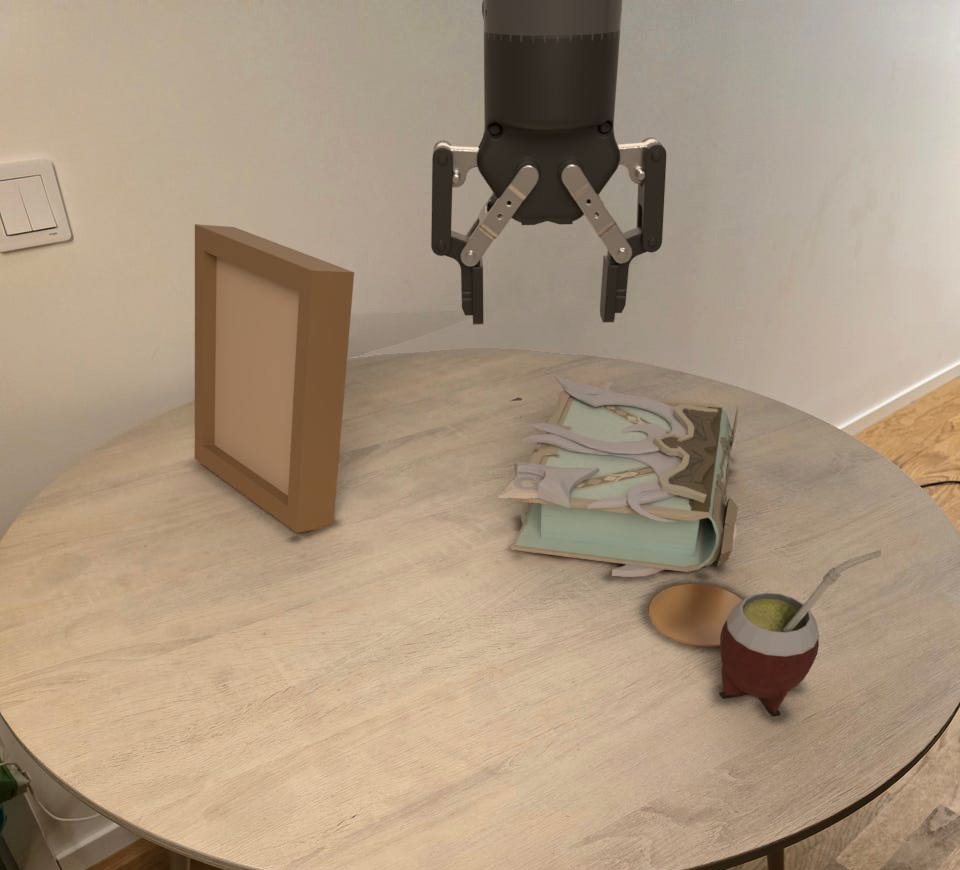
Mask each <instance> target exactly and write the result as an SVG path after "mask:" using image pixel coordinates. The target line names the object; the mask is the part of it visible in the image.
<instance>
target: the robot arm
mask: <svg viewBox="0 0 960 870" xmlns="http://www.w3.org/2000/svg"><path fill="white" fill-rule="evenodd" d="M622 11H623V0H482V3H481V14H482V19H483V102H484V103H483V104H484V105H483V108H484V110H483V111H484V113H483V114H484V118H483V119H484V125H483V127H484V131H483V134H482V138H481V140H480V143H479V145H478V146H463V145H462V146H461V145H452V144H451V143H450V142H449V141H448V140H444V139H441V140H439V141H436V143H435V144H434V146H433V150H432V161H431V162H432V163H431V164H432V165H431V167H432V168H431V229H430V230H431V231H430V232H431V233H430V235H431V237H430V238H431V239H430V246H431V251H432V252H433V254H435V255H436V256H439V257H443V256H444V257H448V258H451V259H452V260H455V261H456V262H457V263H458V265H459V267H460V279H461V280H460V286H461V287H460V288H461V309H462V312H463V314H464V316H465V317H466V316H468V317H469V316H472V325H474V326H475V325H484V263H483V256H484V254H485V253H486V252H487V251H488V249H489V248H490V246H491V244H492V243H493V242H494V240H496V239H497V238H498V237H499V236H500V234H501V233H502V232H503V230H504V229H505V228H506V226H507V225H508V223H509V222H510V220H511V219H512V220H513V221H515V222H518V223H520V224H521V226H535V225H538V224H542V223H545V222H550V223H552V224H557V225H574V224H573V223H574V222H575V221H577V220H580V219H581V218H582V217H583V216H584V217H585V218H586V219H587V221H588V222H589V224H590V226H591V227H592V229H593V230H594V231H595V234H596V235H597V236H598V237H599V238H600V240H601V242H602V243H603V245H604V246H605V248H606V249H607V254H606V255H603V258H602V271H601V285H600V300H599V302H600V303H599V316H600V318H601V321H602V323H615V319H616V314H622V313H623V311H624V309H625V307H626V305H627V303H626V302H627V293H628V292H627V289H628V281H629V268H630V264H631V262H632V261H633V260H634V259H635V258H636V257H638V256H640V255H643V254H645V253H655V252H657V251H658V250H660V248H661V247H662V244H663V233H664V229H663V228H664V214H665V213H664V211H665V192H666V191H665V190H666V173H667V172H666V171H667V150H666V148H665V146H663V144H662V143H661V142H660V141H659V140H658V139H656V138H655V137H652V136H649V137H646V138H644V139H643V140H642V141H641V142H631V143H621V144H618V143H617V140H616V136H615V128H614V125H615V110H616V99H617V97H616V96H617V83H618V81H617V80H618V71H619V70H618V69H619V54H620V41H621V40H620V39H621V25H622ZM620 165H621V166H623V167H626V172H627V176H628V177H629V179H630V180H631V182H632V183H633V184H635V185H637V203H636V204H637V206H636V227H635V228H631V229H630V230H627V231H624V232H622V229H621V228H620V227H619V225H618V223H617V222H616V220H615V219H614V217H613V215H612V214H611V212H610V211H609V209H608V208H607V206H606V205H605V203H604V201H603V200H602V198H601V197H600V194H601V192H602V191H603V189H604V188H605V186H607V184H608V183H609V181H610V180H611V179H612V177H613V176H614V174H615V173H616V171H617V170H618V168H619V166H620ZM474 168H477V169H478V172H479V174H480V175H481V177H482V178H483V179H484V181H485V182H486V184H487V185H488V187H489V188H490V190H491V192H492V193H491V195H490V196H489V198H488V199H487V201H486V202H485V203H484V205H483V206H482V208H481V210H480V211H479V213H478V215H477V217H476V219H475V220H474V222H473V223H472V224H471V226H470V227H469V229H468V231H467V232H466V233H465V234H463V233H459V232H458V231H454V230H452V216H453V214H452V212H453V211H452V210H453V188H460V187H461V186H463V185H464V184H465V182H466V180H467V174H468V173H469V171H470V170H472V169H474Z"/></svg>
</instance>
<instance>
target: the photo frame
mask: <svg viewBox="0 0 960 870" xmlns="http://www.w3.org/2000/svg"><path fill="white" fill-rule="evenodd" d="M354 278H355V272H354V271H353V270H349V269H347V268H344V267H342V266H339V265H336V264H333V263H331V262H328V261H326V260H322V259H320V258H317V257H315V256H312V255H309V254H307V253H304V252H302V251H299V250H296V249H293V248H291V247H288V246H286V245H283V244H280V243H278V242H275V241H273V240H269V239H267V238H264V237H261V236H259V235H256V234H254V233H251V232H248V231H246V230H243V229H241V228H238V227H235V226H226V225H224V226H223V225H212V224H210V225H209V224H199V223H198V224H197V223H195V224H194V459H195V460H196V461H197V462H199V463H200V464H201V465H203V466H204V467H205V468H207V469H208V470H209V471H211V472H212V473H213V474H215V475H216V476H218V477H219V478H220V479H222V480H223V481H224V482H226V483H227V484H229V485H230V486H232V487H233V488H234V489H235V490H237V491H238V492H240V493H241V494H242V495H244V496H245V497H246V498H248V499H249V500H250V501H252V502H253V503H254V504H256V505H258V506H259V507H260V508H261V509H263V510H264V511H266V512H267V513H268V514H270V515H271V516H273V517H274V518H275V519H277V520H278V521H279V522H281V523H282V524H283V525H284V526H286V527H287V528H289V529H290V530H291V531H293V532H295V534H299V533H304V532H310V531H316V530H320V529H322V528H325V527H327V526H329V525H332V524H334V523H335V511H336V499H337V498H336V497H337V485H338V473H339V463H340V462H339V461H340V449H341V437H342V425H343V411H344V401H345V387H346V378H347V376H346V375H347V365H348V353H349V341H350V328H351V318H352V317H351V316H352V304H353V291H354V280H355V279H354Z"/></svg>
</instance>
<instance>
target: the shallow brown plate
mask: <svg viewBox="0 0 960 870" xmlns="http://www.w3.org/2000/svg"><path fill="white" fill-rule="evenodd" d="M742 600H743V598H741V597H740V596H738V595H737V594H735V593H733V592H730V591H729V590H727V589H723V588H721V587H718V586H713V585H710V584H701V583H684V584H677V585H672V586H670V587H667V588H665V589H662V590H661V591H658V593H657V594H655V595H654V596H653V598H652V599H651V601H650V602H649V606H648V616H649V619H650V622H651V624H652V625H653V626H654V627H655V628H656V629H657V630H658V631H659V632H660V633H661V634H663V635H665V636H666V637H668V638H669V639H672V640H673V641H676V642H679V643H682V644H685V645H688V646H693V647H698V648H699V647H701V648H720V635H721V631H722V628H723V625H724V624H725V622H726V620H727V617H728V615H729V614H730V612H731V611H732V609H733V608H734V607H735V606H736V605H737V604H738V603H739V602H741V601H742Z"/></svg>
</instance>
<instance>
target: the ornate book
mask: <svg viewBox="0 0 960 870" xmlns="http://www.w3.org/2000/svg"><path fill="white" fill-rule="evenodd" d="M553 377H554V378H555V380H556V381H557V382H558V384H559V385H560V386H561V388H562V390H561V391H560V393H559V396H558V400H557V404H556V406H555V408H554V411H553V412H552V413H551V415H550V417H549V418H548V419H547V421H546V422H533V423H525V424H522V425H519V429H534V430H539V431H543V432H545V433H544V434H543V433H540V434H538V433H536V434H532V435H529V436H526V437H525V438H522V439H520V441H519V443H536V444H535V446H534V448H533V451H532V454H530V457H529V460H528V462H526V461H514V463H513V466H514V467H513V468H514V472H515V473H514V474H515V477H514V479H513V480H512V481H511V482H510V483H509V484H508V485H507V486H506V488H505V489H504V490H503V491H502V492H500V494H499V495H498V496H497V497H496V498H498V499H499V498H500V499H502V498H503V499H510V500H511V501H516V502H523V503H529V505H528V508H527V513H525V512H520V521H521V524H522V526H521V527H520V530H519V531H518V533H517V535H516V536H515V538H514V539H513V542H512V544H511V545H510V550H512V551H519V552H528V553H535V554H542V555H549V556H558V557H564V558H565V557H567V558H573V559H581V560H589V561H597V562H598V561H599V562H606V563H613V564H620V565H621V564H622V566H619V567H616V568H614V569H611V576H612V577H620V578H621V577H622V578H634V577H635V578H636V577H648V576H651V575H653V574H656V573H660V572H662V571H664V570H669V571H675V572H677V571H678V572H683V573H689V572H694V571H698V570H699V571H700V569H701V568H703V567H709V566H712V564H713V563H714V562H715V561H716V560H717V564H716V567H718V566H720V565H722V564H724V563H725V562H726V561H728V560H729V559H730V555H731V553H732V551H733V544H734V542H735V540H736V539H737V537H738V532H739V531H738V527H737V523H736V521H737V517H738V510H739V507H738V505H737V504H736V502H735V501H734V500H733V498H731V496H729V497H728V496H727V488H728V480H729V470H730V466H731V461H732V457H733V451H734V449H733V448H734V446H735V444H736V442H737V440H736V432H737V426H738V412H739V407H736V409H735V410H736V411H735V414H734V415H735V416H734V422H733V425H732V426H731V422H730V419H729V416H728V414H727V412H726V410H724V408H723V406H720V405H717V404H715V403H712V402H711V403H710V402H709V403H708V402H698V401H687V400H678V399H677V400H676V399H665V398H654V397H653V398H652V397H644V396H639V395H632V394H625V393H624V394H623V393H618V392H613V391H612V390H611V389H610V388H612V387H613V386H614V385H615V384H616V382H617V381H609V382H607V383H604V384H603V386H602V387H603V388H600V387H596V386H593V385H588V384H584V383H581V382H578V381H575V380H572V379H567V378H564V377H561V376H557V375H554V374H553Z"/></svg>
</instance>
